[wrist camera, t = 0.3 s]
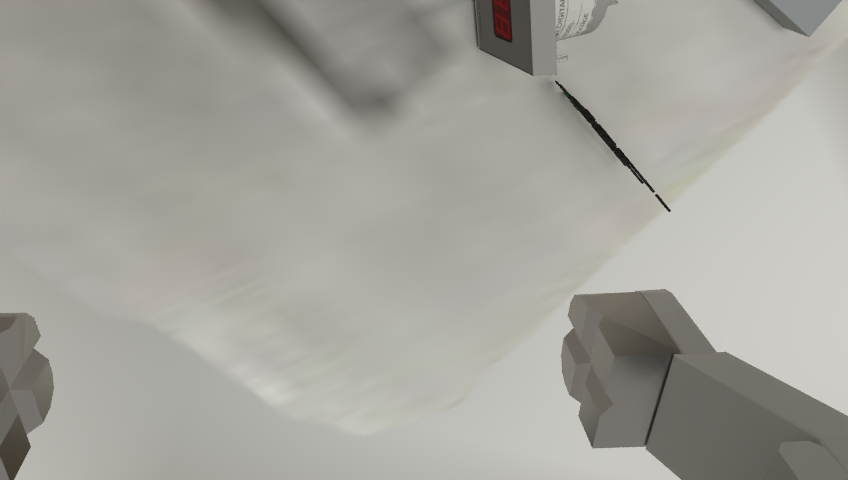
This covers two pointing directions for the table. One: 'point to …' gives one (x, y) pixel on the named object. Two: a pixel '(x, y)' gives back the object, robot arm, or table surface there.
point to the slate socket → (799, 13)
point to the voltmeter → (542, 41)
